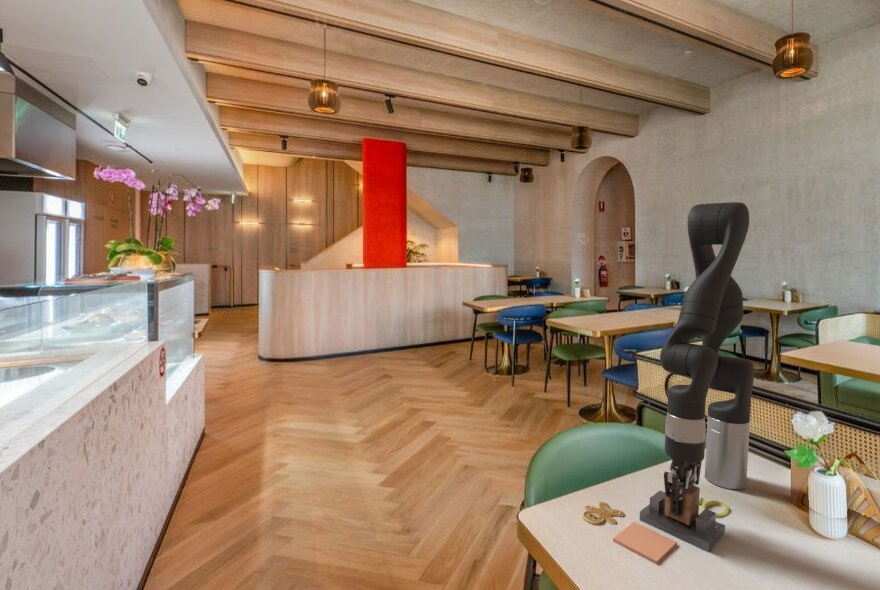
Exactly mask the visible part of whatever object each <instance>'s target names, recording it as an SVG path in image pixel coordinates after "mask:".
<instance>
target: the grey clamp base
mask: <svg viewBox="0 0 880 590" xmlns="http://www.w3.org/2000/svg"><path fill="white" fill-rule="evenodd" d="M679 490H680V489H679ZM684 492H686V493H688V492H687V491H684ZM716 513H717V512H715V511H713V510H710V509H707V508H706V509H705V510H704V511H703V512H702V511H701V512H700V513H699V515H698V516H697V517H696V519H695V520H694V521H693V522H692V523H691V524H690V525H687V524H685V523H682V522H680V521H678V520H676V519H673V518H671V517H669V516H667V515H665V491H663V490H659V491H657V492H656V493H654V494H652V496H651V497H649V504H648V505H646V506H645V507H643V508H642V509H641V510H640V511H639V521H641V522H643V523H645V524H647V525H649V526H651V525H652V527H654V528H656V529H658V530H660V531H663V532H664V533H667V534H668V533H669V534H668V535H671V536H673V537H675V538H677V539H679V540H681V541H683V542H685V543H688V544H690V545H692V546H693V547H697V548H699V549H701V550H702V551H705V552H707V553H709V552H710V551H711V550H712V549H713V548H714V547H715V546H716V544H718V543H719V541H720V540H721V539H722V538H723V537H724V536H725V533H726V524H723V523H720V522H718V521H716V519H717V517H716Z"/></svg>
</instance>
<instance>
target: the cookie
mask: <svg viewBox="0 0 880 590" xmlns="http://www.w3.org/2000/svg"><path fill="white" fill-rule="evenodd" d="M597 504H598V507H595V506H591V505H585V506H584V510H585V511H584V512H582V515H581V517H582V519H583V521H585V523H588V524H590V525H593V526H600V525H603V524H605V522H607V523H608V524H610V525H612V524H613V526H614V524H616V525H617V524H618V521H617V520H616V519H615V518H614V517H617V516H620V517H619V518H623V517H622V516H625V517H626V514H625V512H623V511H621V510H619V509H613V508H611V506H610V505H609V504H608V503H607V502H603V501H599V502H598V503H597Z"/></svg>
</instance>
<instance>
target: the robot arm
mask: <svg viewBox="0 0 880 590" xmlns="http://www.w3.org/2000/svg"><path fill="white" fill-rule="evenodd" d="M749 227H750V212H749V208H748V206H747V205H746V204H745V203H744V202H735V201H733V202H732V201H731V202H713V203H711V202H710V203H699V204H696V205H693V206H692V207H691V208H690V210H689V212H688V216H687V235H688V236H687V237H688V240H689V246H690V251H691V255H692V260H693V261H692V262H693V265H694V271H695V280H694V281H693V282H692V283H691V284H690V285H689V286H688V288H687V289H686V292H685V294H684V296H683V299H682V302H681V308H680V312H679V314H678V315H679V316H678V319H677V322H676V324H675V325H674V327H673V328H672V331H671V333H670V334H669V335H668V338H667V339H666V341H665V342H664V343H663V346H662V348H661V350H660V354H659V360H660V364H661V366H662V369H663V370H664V371H666V372H667V373H670V374H674V375H679V376H684V377H687V378H688V377H689V378H691V382H690V383H689V384H675V385H671V386H670V387H669V389H668V391H667V409H666V410H667V411H666V412H667V413H666V418H665V429H664V430H665V431H664V433H665V434H664V452H665V454H666V455H667V456H668V457H670V459H671V463H670V466H669V472H668V471H664V473H663V484H664V492H665V496H667V497H669V498H671V506H670V512H671V513H672V514H674V515H677V516H679V517H680V516H681V515H682V510H683V496H684V491H685V490H687V489H688V484H691V485H692V486H696V487H697V486H698V485H699V483H700V478H701V477H700V476H701V470H702V462H703V461H704V460H705V461H704V462H705V464H704V478H705V479H706V480H707V481H708V482H710V483H711V484H713V485H716V486H718V487H720V488H724V489H729V490H742V489H745V488H746V487H747V482H748V481H747V478H748V464H749V463H748V461H749V460H748V459H749V447H750V445H749V444H750V443H749V442H750V426H751V407H752V396H753V395H752V394H753V386H754V380H755V367H754V364H753V362H752V361H751V360H750V359H746V358H741V357H734V356H727V355H726V356H725V355H720V354H719V350H720V348H721V346H722V345H723V343H724V342H725V341H726V339H727V338H728V337H730V335H731V334H732V333H733V332H734V331H735V330H736V329H737V328H738V327H739V325H740V324H741V323H742V320H743V318H744V299H743V298H744V297H743V291H742V289H741V286H740V285H739V284H738V283H737V281H736V280H735V279H734V278H733V276H732V273H733V270H734V268H735V266H736V264H737V261H738V259H739V256H740V254H741V251H742V248H743V246H744V244H745V240H746V238H747V234H748V232H749ZM713 245H714V246H715V245H718V246H719V245H720V246H721V248H720V250H719V252H718V254H717V256H716V254H715V251H714V248H713ZM696 337H701V341H702V344H696V343H690V341H692V339H694V338H696ZM709 389H710V390H714V391H719V392H724V393H731V394H733V395H735V397H733V398H731V399H727V400H721V401H713V402H711V403H709V404H708V405H707V406H708V407H707V421H705V420H706V418H705V417H706V401H707V400H706V399H707V396H708V392H709ZM706 423H707V425H706ZM679 482H682V483H684V484H683V485H681V484H679ZM679 488H680V493H679Z"/></svg>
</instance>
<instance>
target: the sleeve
mask: <svg viewBox="0 0 880 590" xmlns="http://www.w3.org/2000/svg"><path fill="white" fill-rule="evenodd" d="M679 484H681V485H683V484H684V483H682V482H679ZM679 489H680V488H679ZM700 489H701V488H700V487H698V486H697V485H696V486H692V485H691V484H688V489H687V490H685V491H687V492H688V493H686V492H684V496H683V510H682V515H681V516H680V517H679V516H677V515H674V514H672V513H671V512H670V506H671V498H669V497H667V496H665V515H667V516H669V517H671V518H673V519H676V520H678V521H680V522H682V523H685V524H687V525H690V524H691V523H692V522H693V521H694V520H695V519H696V517H697V516H698V515H699V514H700V513H699V512H700V505H699V498H700V491H701V490H700ZM679 493H680V490H679Z"/></svg>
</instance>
